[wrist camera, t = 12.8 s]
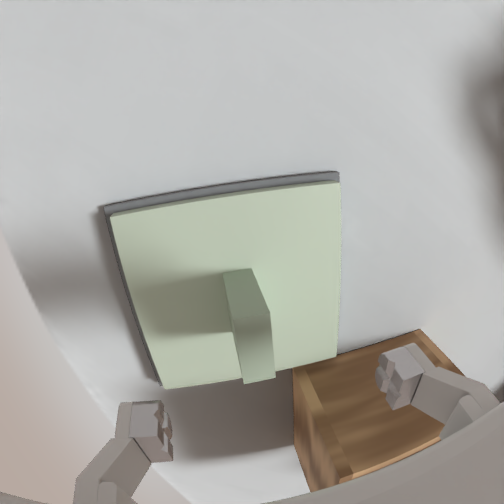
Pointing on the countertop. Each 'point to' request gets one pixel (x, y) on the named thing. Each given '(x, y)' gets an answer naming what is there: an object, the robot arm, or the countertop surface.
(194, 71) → the countertop surface
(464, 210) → the countertop surface
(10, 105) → the countertop surface
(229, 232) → the lid
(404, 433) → the storage box
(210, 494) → the countertop surface
